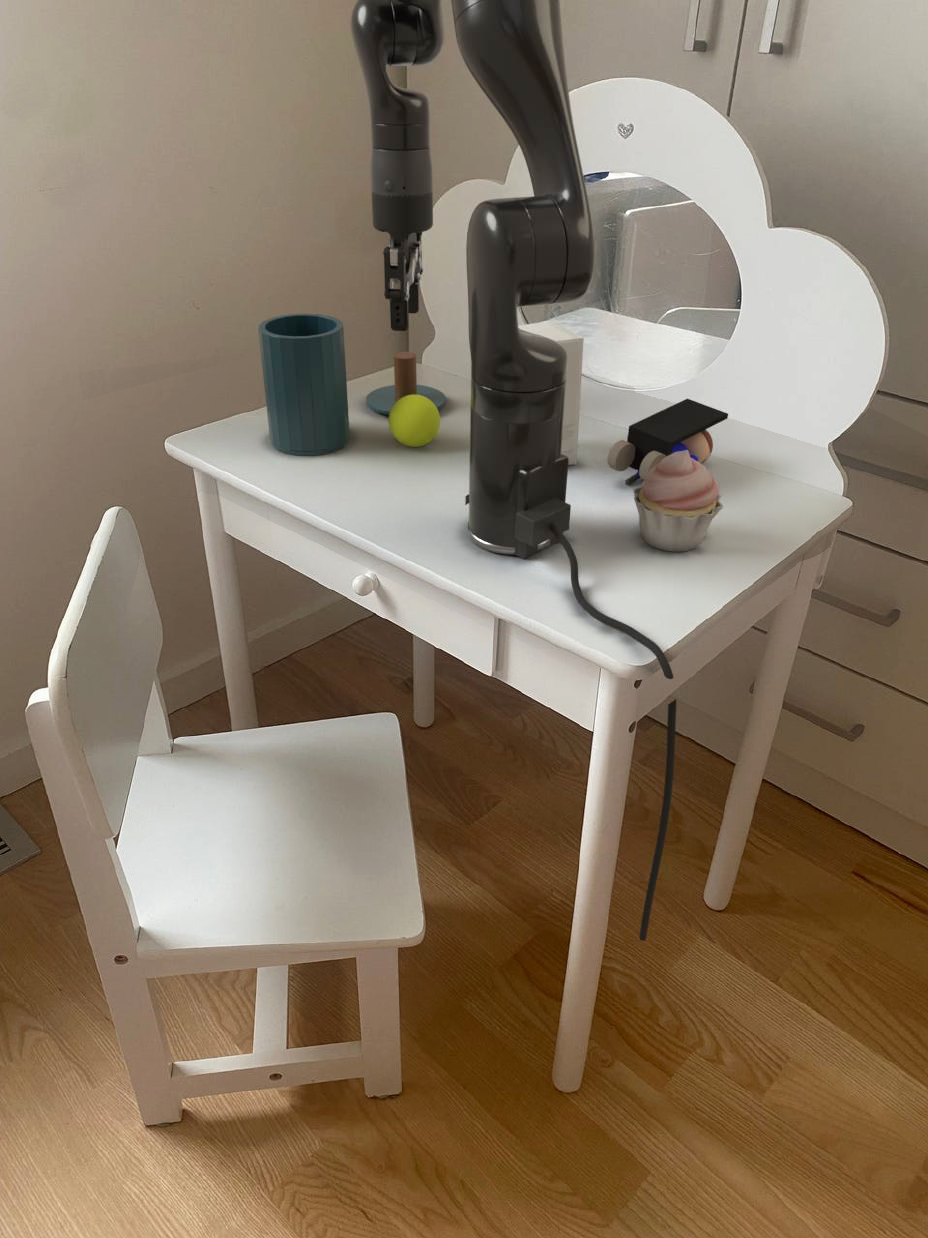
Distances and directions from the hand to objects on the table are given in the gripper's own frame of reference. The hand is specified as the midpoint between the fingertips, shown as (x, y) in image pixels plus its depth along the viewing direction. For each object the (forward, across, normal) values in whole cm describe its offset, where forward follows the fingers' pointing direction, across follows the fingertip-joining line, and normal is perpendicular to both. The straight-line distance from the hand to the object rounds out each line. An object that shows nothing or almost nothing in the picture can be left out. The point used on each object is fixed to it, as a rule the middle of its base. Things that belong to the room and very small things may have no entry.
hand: (405, 320), depth 126 cm
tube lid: (+11, 0, 0) cm, 11 cm away
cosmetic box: (+12, -14, -19) cm, 27 cm away
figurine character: (+12, -18, -34) cm, 40 cm away
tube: (+12, -13, +10) cm, 21 cm away
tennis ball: (+9, -13, -3) cm, 16 cm away
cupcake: (+12, -34, -34) cm, 49 cm away
